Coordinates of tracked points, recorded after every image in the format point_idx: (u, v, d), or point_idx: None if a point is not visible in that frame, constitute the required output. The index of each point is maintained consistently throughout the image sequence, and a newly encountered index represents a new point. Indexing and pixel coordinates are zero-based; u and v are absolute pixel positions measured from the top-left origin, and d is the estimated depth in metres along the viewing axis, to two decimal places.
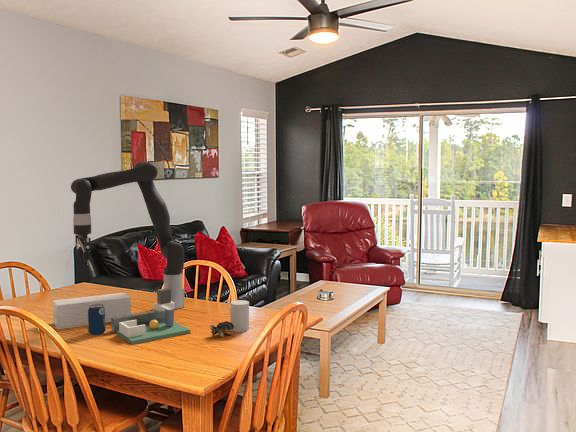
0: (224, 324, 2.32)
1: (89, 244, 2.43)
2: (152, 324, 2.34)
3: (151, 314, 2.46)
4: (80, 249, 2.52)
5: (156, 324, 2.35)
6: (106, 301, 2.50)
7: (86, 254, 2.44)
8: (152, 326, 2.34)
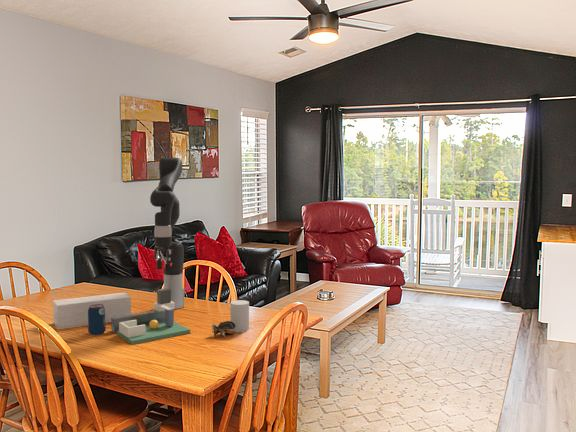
0: (226, 324, 2.32)
1: (171, 256, 2.44)
2: (152, 324, 2.34)
3: (151, 314, 2.46)
4: (159, 261, 2.52)
5: (156, 324, 2.35)
6: (106, 301, 2.51)
7: (168, 266, 2.45)
8: (152, 326, 2.34)
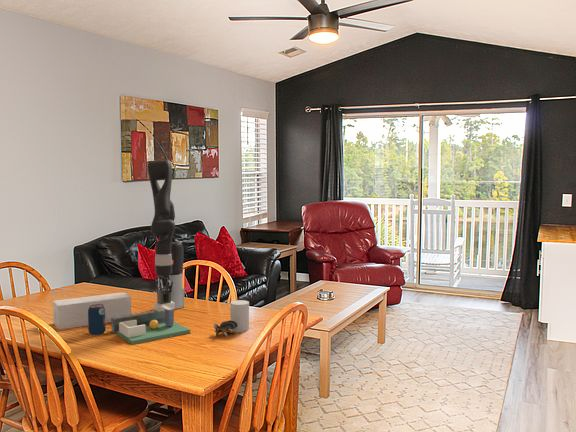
0: (228, 323, 2.33)
1: (170, 287, 2.46)
2: (152, 324, 2.34)
3: (151, 314, 2.46)
4: None
5: (156, 324, 2.35)
6: (107, 301, 2.51)
7: (166, 296, 2.48)
8: (152, 326, 2.34)
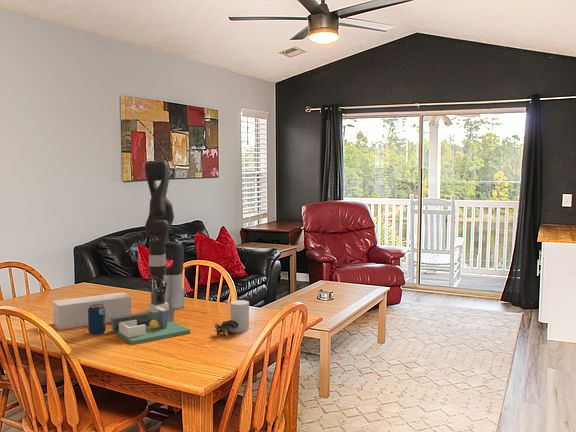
0: (229, 323, 2.34)
1: (164, 288, 2.44)
2: (152, 324, 2.34)
3: (151, 314, 2.46)
4: None
5: (156, 324, 2.35)
6: (107, 301, 2.51)
7: (160, 297, 2.46)
8: (152, 326, 2.34)
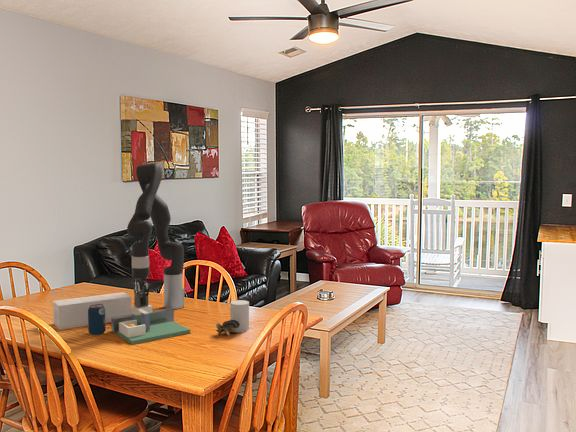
0: (230, 323, 2.34)
1: (147, 290, 2.39)
2: (133, 325, 2.29)
3: (151, 314, 2.46)
4: None
5: None
6: (107, 301, 2.51)
7: (143, 299, 2.41)
8: (131, 326, 2.29)
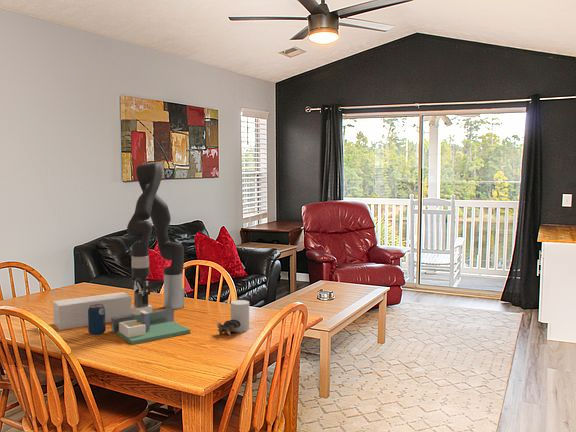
0: (231, 322, 2.35)
1: (148, 288, 2.38)
2: None
3: (151, 314, 2.46)
4: (137, 291, 2.46)
5: None
6: (107, 301, 2.51)
7: (145, 298, 2.39)
8: None
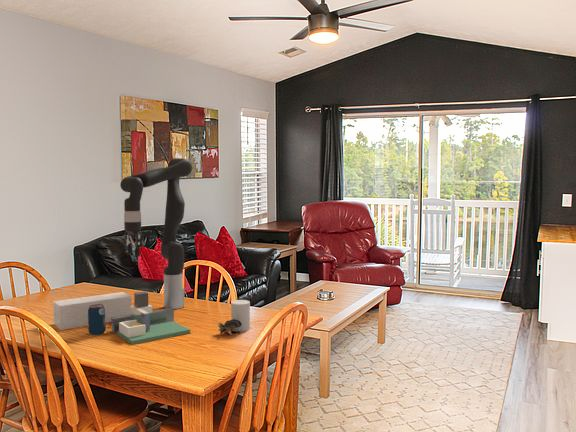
0: (232, 322, 2.35)
1: (140, 240, 2.50)
2: None
3: (151, 314, 2.46)
4: (130, 245, 2.58)
5: None
6: (107, 301, 2.51)
7: (137, 250, 2.51)
8: None
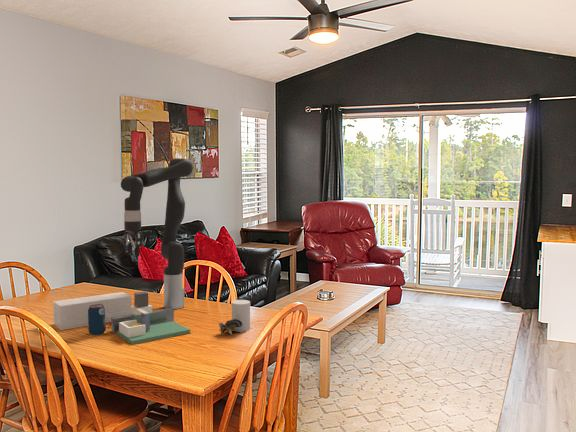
0: (233, 322, 2.35)
1: (140, 240, 2.50)
2: None
3: (151, 314, 2.46)
4: (129, 245, 2.58)
5: None
6: (108, 300, 2.51)
7: (137, 250, 2.51)
8: None
